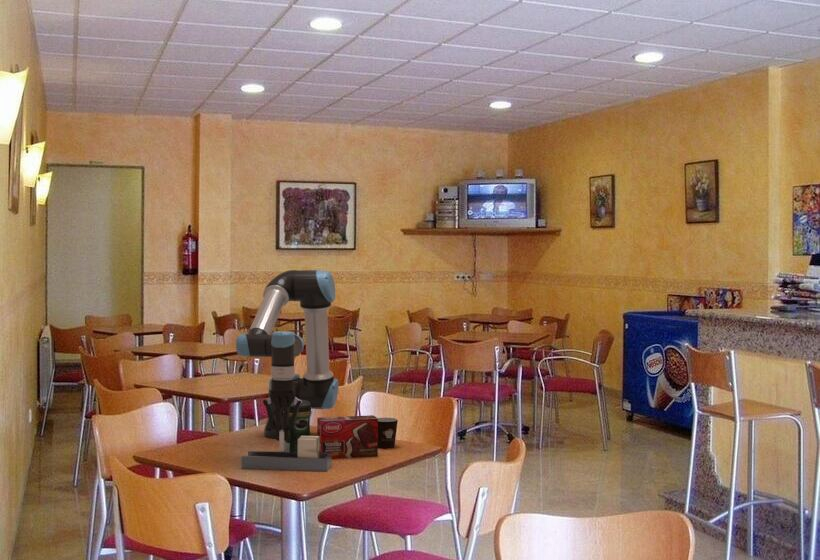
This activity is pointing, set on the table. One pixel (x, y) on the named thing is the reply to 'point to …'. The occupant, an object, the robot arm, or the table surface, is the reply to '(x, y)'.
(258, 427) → the table surface
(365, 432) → the ice cream box
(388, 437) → the coffee mug
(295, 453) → the chute
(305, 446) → the block
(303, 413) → the coffee jar
